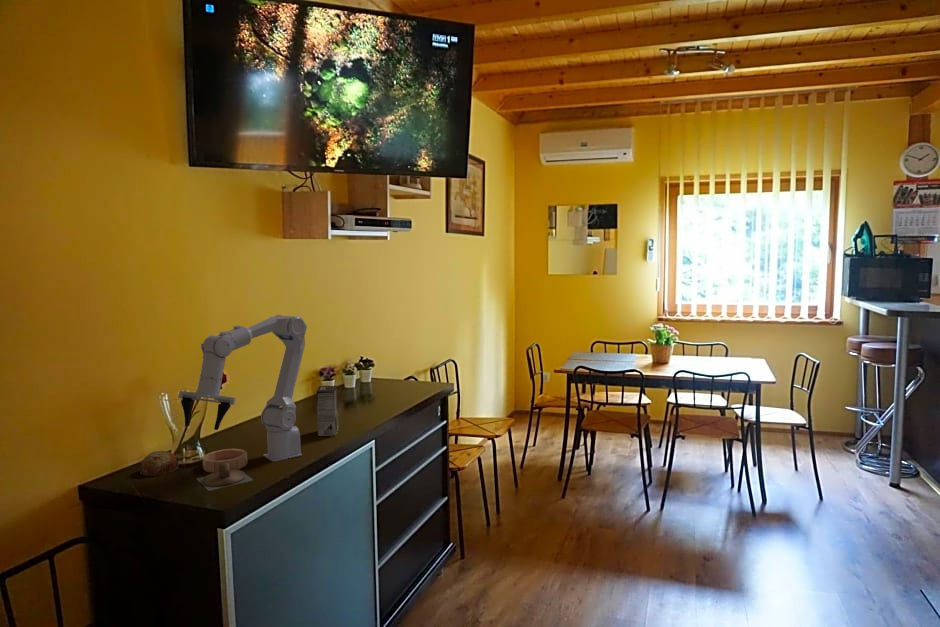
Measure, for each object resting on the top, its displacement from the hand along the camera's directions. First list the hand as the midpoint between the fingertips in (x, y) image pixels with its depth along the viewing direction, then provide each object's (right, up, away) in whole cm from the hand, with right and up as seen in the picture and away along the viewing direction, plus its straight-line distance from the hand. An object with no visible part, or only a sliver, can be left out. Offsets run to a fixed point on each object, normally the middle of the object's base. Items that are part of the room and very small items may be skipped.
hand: (201, 427), depth 173 cm
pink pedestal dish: (+5, -15, +3) cm, 16 cm away
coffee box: (+24, -11, +48) cm, 55 cm away
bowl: (+1, -14, +15) cm, 20 cm away
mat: (+5, -15, +3) cm, 16 cm away
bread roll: (-17, -15, +12) cm, 26 cm away
